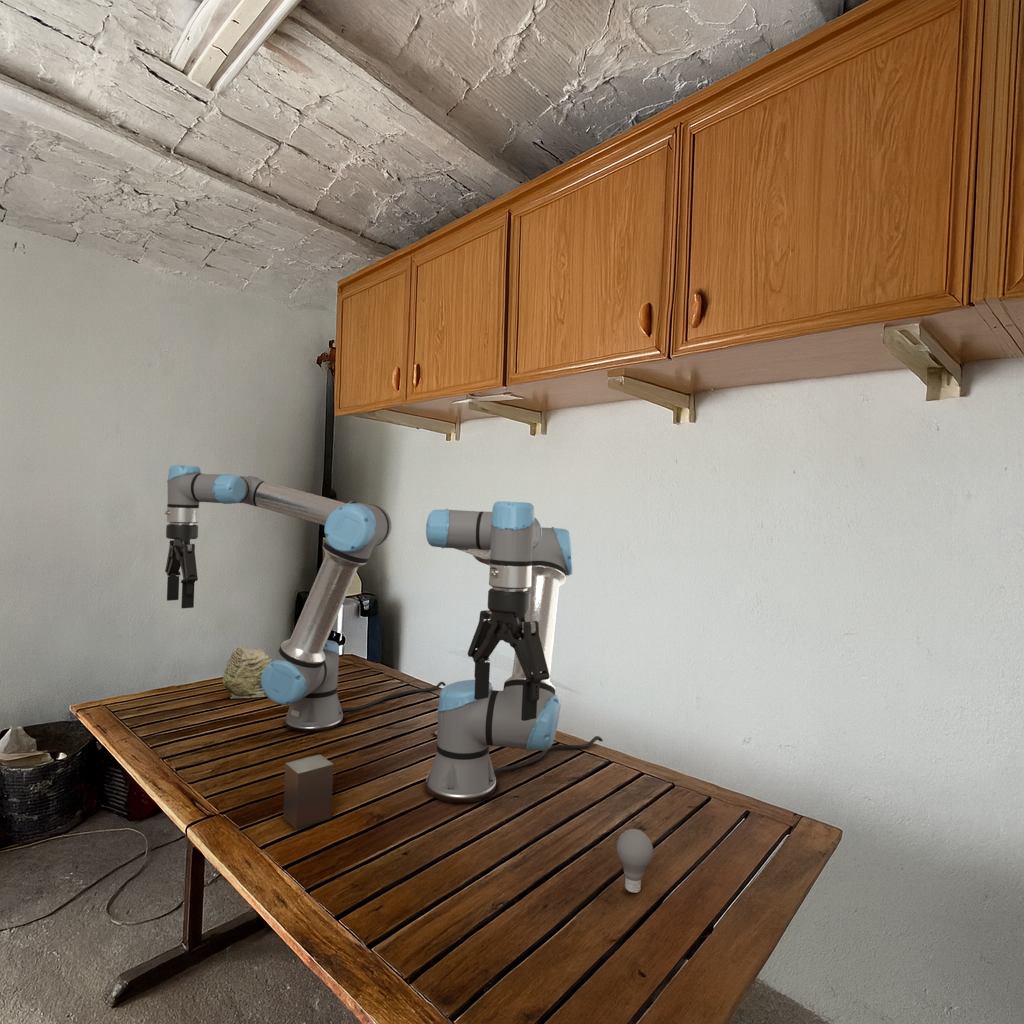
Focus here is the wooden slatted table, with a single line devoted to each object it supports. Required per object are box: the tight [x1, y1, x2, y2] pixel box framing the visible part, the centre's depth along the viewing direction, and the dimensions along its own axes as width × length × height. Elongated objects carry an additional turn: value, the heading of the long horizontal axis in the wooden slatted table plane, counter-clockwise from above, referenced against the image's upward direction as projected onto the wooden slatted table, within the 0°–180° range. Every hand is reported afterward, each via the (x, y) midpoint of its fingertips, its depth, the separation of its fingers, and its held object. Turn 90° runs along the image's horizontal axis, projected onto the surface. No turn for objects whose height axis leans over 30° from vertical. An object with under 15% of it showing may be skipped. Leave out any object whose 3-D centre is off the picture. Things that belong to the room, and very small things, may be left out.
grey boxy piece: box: [282, 754, 334, 831], centre depth 125 cm, size 6×7×11 cm
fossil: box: [222, 646, 274, 699], centre depth 198 cm, size 9×18×15 cm, turn 132°
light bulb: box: [615, 828, 654, 894], centre depth 106 cm, size 6×6×10 cm
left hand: (179, 604), depth 167 cm, fingers open, 13 cm apart
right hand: (503, 708), depth 112 cm, fingers open, 13 cm apart
